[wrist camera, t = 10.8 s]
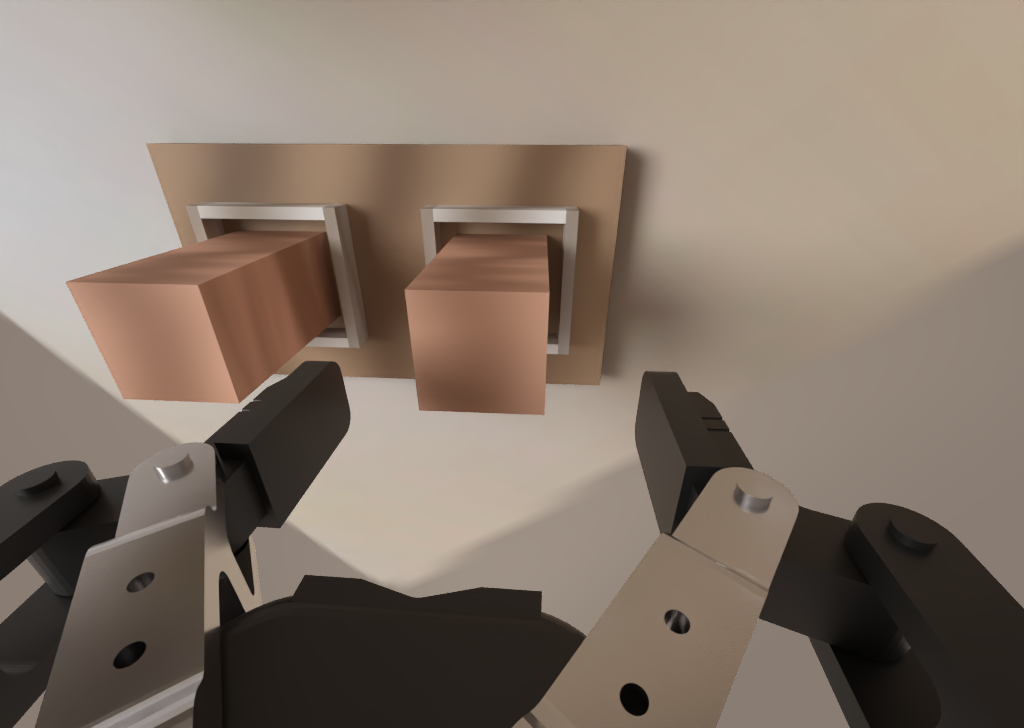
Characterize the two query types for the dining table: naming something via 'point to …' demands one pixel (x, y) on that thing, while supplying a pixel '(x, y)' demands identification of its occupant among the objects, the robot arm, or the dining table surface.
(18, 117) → the dining table surface
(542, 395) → the pin
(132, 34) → the dining table surface
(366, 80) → the dining table surface
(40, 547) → the robot arm
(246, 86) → the dining table surface
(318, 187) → the board
